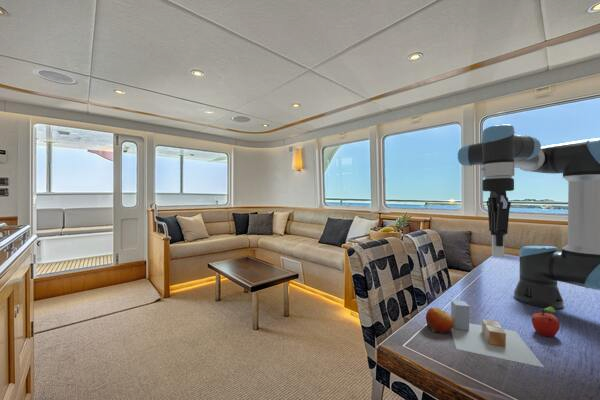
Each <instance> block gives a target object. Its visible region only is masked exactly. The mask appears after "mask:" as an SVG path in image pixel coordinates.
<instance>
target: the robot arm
mask: <svg viewBox="0 0 600 400" xmlns="http://www.w3.org/2000/svg"><path fill="white" fill-rule="evenodd" d="M515 133H516V132H515V128H514V125H512V124H507V123H505V124H495V125H493V126H488V127H486V128H485V129H483V130H482V138H481V142H479V143H474V144H473V143H472V144H469V145H465V146H464V145H463V146H462V147H460V148H459V150H458V152H457V160H458V163H459V164H460V165H461V166H464V167H467V166H470V167H472V166H482V167H480V171H481V172H482V178H484V179H483V180H482V181H481V182H482V186H481V187H482V188H481V189H482V191H483V192H489V197H488V198H487V201H486V205H487V217H488V231H489V232H490V235H491V257H494V258H505V236H506V235H508V229H509V219H510V209H511V206H512V202H511V201H509V197H508V195H507V192H512V191H514V190H515V179H514V178H513V177H514V176H515V168H516V169H520V170H521V171H524V172H531V173H540V174H554V175H555V174H562V178H563V179H564V180H565V181H567V182H568V197H567V198H568V199H567V203H568V204H567V244H566V245H564V246H563V247H561V251H559V248H558V247H557V246H551V245H525V246H522V247H521V248H520V249H519V255H518V258H519V279H518V281H517V283H516V286H515V289H514V291H513V297H514V299H515V300H516V299H517V300H518V301H520V302H522V303H525V304H528V305H532V306H536V307H541V308H547V307H553V308H554V309H562V308H564V298H563V297H562V294H561V292H560V289H559V286H558V282H561V283H565V284H570V285H573V286H576V287H577V286H578V287H582V288H584V289H590V290H591V289H592V290H597V291H600V137H596V138H587V139H581V140H576V141H575V140H574V141H569V142H564V143H563V142H562V143H557V144H549V145H545V146H542V145H541V142H540V140H539V139H537V138H536V137H534V136H530V135H526V134H525V135H523V134H522V135H521V134H515Z"/></svg>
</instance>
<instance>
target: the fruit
mask: <svg viewBox="0 0 600 400" xmlns="http://www.w3.org/2000/svg"><path fill="white" fill-rule="evenodd" d="M425 314H426V315H425V319H426V320H425V321H426V324H427V325H426V326H427V327H428V328H430V330H431V331H432V333H441V334H446V333H449V332H451V329H452V327H453V325H454V321H453V319H452V317H451V314H449V313H447V312H446V311H445V310H443V309H442V308H439V307H430V308H429V309H427V312H426V313H425Z"/></svg>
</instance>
